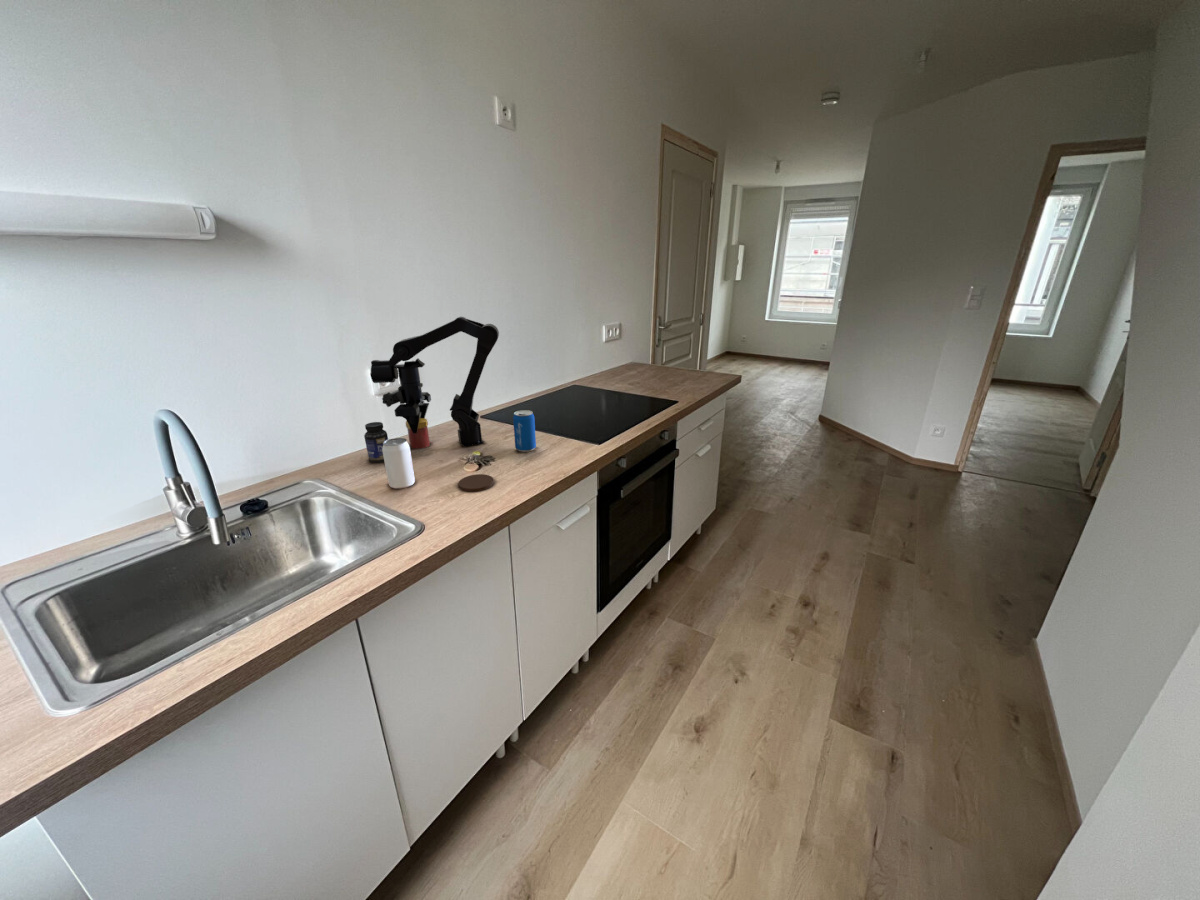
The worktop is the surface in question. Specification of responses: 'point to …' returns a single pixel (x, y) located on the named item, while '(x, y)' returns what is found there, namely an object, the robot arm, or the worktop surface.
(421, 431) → the dark red cylinder
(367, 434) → the pill bottle
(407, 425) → the lid
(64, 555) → the worktop surface
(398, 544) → the worktop surface
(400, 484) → the can
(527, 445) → the beverage can
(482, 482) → the coaster
